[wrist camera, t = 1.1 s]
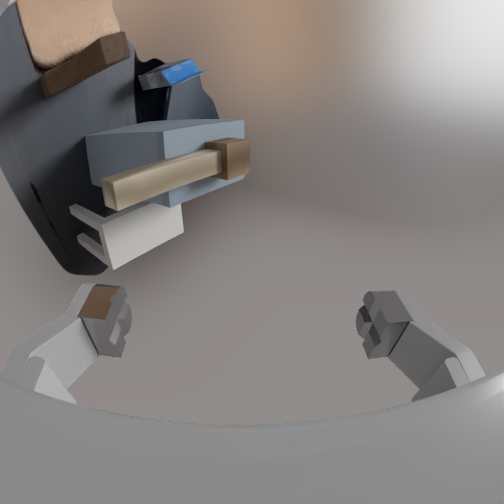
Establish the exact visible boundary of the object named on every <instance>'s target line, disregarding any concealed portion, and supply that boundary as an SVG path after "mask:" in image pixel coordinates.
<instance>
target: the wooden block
mask: <svg viewBox="0 0 504 504" xmlns="http://www.w3.org/2000/svg"><path fill="white" fill-rule="evenodd" d="M129 57H130V51H129V47H128V42H127V38H126V34H125V32H119V33H115V34H111V35H108V36H104V37H101V38H99V39H97V40H96V41H94V42H93V43H92V44H90V45H89V46H88V47H86V48H85V49H84V50H83V51H81V52H80V53H79V54H77V55H76V56H75V57H73V58H72V59H70V60H69V61H67V62H65V63H63V64H61V65H59V66H57V67H55V68H53V69H51V70H49V71H47V72H45V73H44V74H43V75H42V76H41V77H40V84H41V87H42V90H43V94H44V97H45V98H48V97H50V96H52V95H54V94H56V93H58V92H60V91H62V90H64V89H66V88H68V87H70V86H72V85H74V84H77V83H79V82H81V81H83V80H85V79H87V78H89V77H91V76H93V75H95V74H96V73H98V72H100V71H102V70H104V69H106V68H108V67H110V66H112V65H114V64H116V63H118V62H121V61H123V60H125V59H127V58H129Z"/></svg>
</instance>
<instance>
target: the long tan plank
mask: <svg viewBox="0 0 504 504" xmlns="http://www.w3.org/2000/svg"><path fill="white" fill-rule="evenodd" d="M249 172H250V139H240V138H223V139H218V140H213V141H208V142H205V149H203V150H199V151H195V152H191V153H187V154H183V155H179V156H175V157H171V158H168V159H164V160H161V161H157V162H154V163H150V164H147V165H143V166H140V167H137V168H134V169H131V170H127V171H124V172H121V173H118V174H115V175H112V176H110V177H107V178H104V179H101V185H102V191H103V196H104V201H105V206H107V207H109V208H112V209H114V210H116V211H120V210H122V209H124V208H127V207H129V206H132V205H134V204H136V203H139V202H141V201H144V200H146V199H149V198H151V197H154V196H156V195H159V194H162V193H164V192H167V191H170V190H172V189H175V188H178V187H180V186H183V185H186V184H189V183H192V182H194V181H197V180H200V179H203V178H206V177H213V178H218V179H224V180H230V179H233V178H236V177H238V176H241V175H244V174H247V173H249Z"/></svg>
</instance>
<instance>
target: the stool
mask: <svg viewBox="0 0 504 504" xmlns="http://www.w3.org/2000/svg"><path fill="white" fill-rule="evenodd" d="M69 209H70V213H71V214H72V215H73V216H75V217H76V218H78V219H80V220H81V221H83V222H84V223H86V224H88V225H89V226H91V227H93V228H94V229H96V230H97V231H99V235H100V239H101V243H102V245H100V244H99V243H97V242H96V241H94V240H93V239H91V238H90V237H88V236H87V235H86V234H84V233H81V234H79V235H77V239H78V243H79V244H81V245H82V246H83V247H84V248H86V249H87V250H88V251H89V252H91V253H92V254H93V255H95V256H96V257H97V258H98V259H100V260H101V261H102V262H104V263H105V264H106V265H108V266H109V267H110V268H112V269H113V270H114V269H116V268H118V267H120V266H121V265H123V264H125V263H127V262H129V261H130V260H132V259H134V258H135V257H138V256H139V255H141V254H143V253H145V252H147V251H149V250H150V249H152V248H154V247H156V246H158V245H160V244H162V243H164V242H166V241H167V240H169V239H171V238H173V237H175V236H177V235H179V234H181V233H183V232H184V231H183V221H182V213H181V204H178V205H176V206H174V207H171V208H169V207H165V206H162V205H159V204H156V203H152V202H149V201H144V202H141V203H139V204H137V205H134V206H132V207H129V208H127V209H125V210H122V211H120V212H118V213H115V214H113V215H111V216H108V217H106V218H104V217H102V216H100V215H98V214H96V213H94V212H92V211H90V210H88V209H86V208H84V207H82V206H80V205H78V204H73V205H71V206H69Z"/></svg>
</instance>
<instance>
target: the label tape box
mask: <svg viewBox="0 0 504 504" xmlns="http://www.w3.org/2000/svg"><path fill="white" fill-rule="evenodd" d="M206 71H208V70H206ZM206 71H202V72H201V71H200V70H199V69H198V67H197V66H196V65H195V63H194V62H193V60H192V59H186V60H181V61H176V62H172V63H166V64H164V65H162V66H159V67H157V68H155V69H153V70H151V71H149V72H146V73H144V74H142V75H140V76H138V78H139V81H140V84H141V86H142V89H143V90H148V89H153V88H159V87H165V86H172V85H175V84H178V83H181V82H184V81H186V80H188V79H190V78H193V77H195V76H197V75H200V74H202V73H204V72H206Z"/></svg>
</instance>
